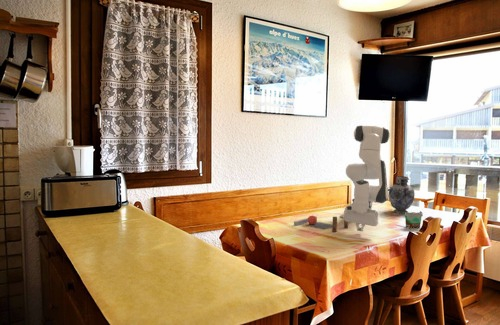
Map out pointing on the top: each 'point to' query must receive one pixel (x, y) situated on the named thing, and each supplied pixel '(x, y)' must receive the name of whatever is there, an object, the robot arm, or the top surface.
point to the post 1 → (334, 224)
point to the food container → (413, 219)
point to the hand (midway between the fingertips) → (360, 231)
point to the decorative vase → (401, 195)
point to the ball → (312, 220)
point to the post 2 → (345, 224)
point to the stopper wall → (301, 221)
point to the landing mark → (320, 225)
